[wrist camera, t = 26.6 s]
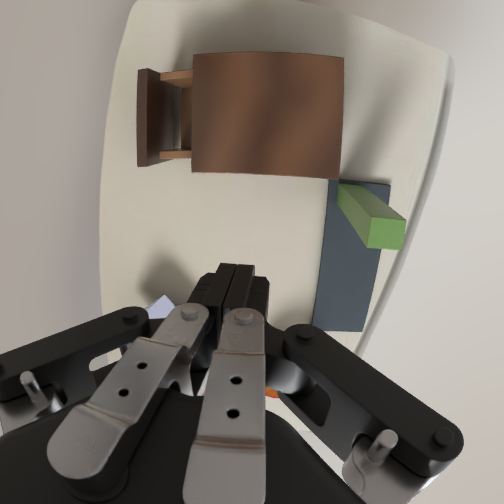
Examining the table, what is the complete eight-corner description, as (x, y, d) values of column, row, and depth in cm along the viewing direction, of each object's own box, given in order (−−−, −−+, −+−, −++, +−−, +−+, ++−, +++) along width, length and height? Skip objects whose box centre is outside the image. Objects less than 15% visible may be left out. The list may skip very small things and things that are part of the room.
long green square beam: (338, 183, 35) (371, 216, 21) (361, 185, 34) (406, 220, 21) (336, 203, 36) (366, 247, 22) (359, 205, 35) (401, 250, 22)
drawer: (156, 159, 36) (127, 167, 28) (157, 81, 32) (127, 71, 24) (265, 160, 34) (259, 166, 27) (267, 75, 30) (262, 59, 23)
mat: (328, 178, 35) (329, 178, 35) (389, 184, 34) (390, 185, 34) (310, 327, 44) (311, 330, 43) (361, 329, 43) (362, 332, 42)
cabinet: (214, 162, 36) (191, 173, 27) (216, 72, 31) (193, 54, 23) (325, 168, 35) (339, 180, 26) (329, 76, 30) (344, 57, 21)
